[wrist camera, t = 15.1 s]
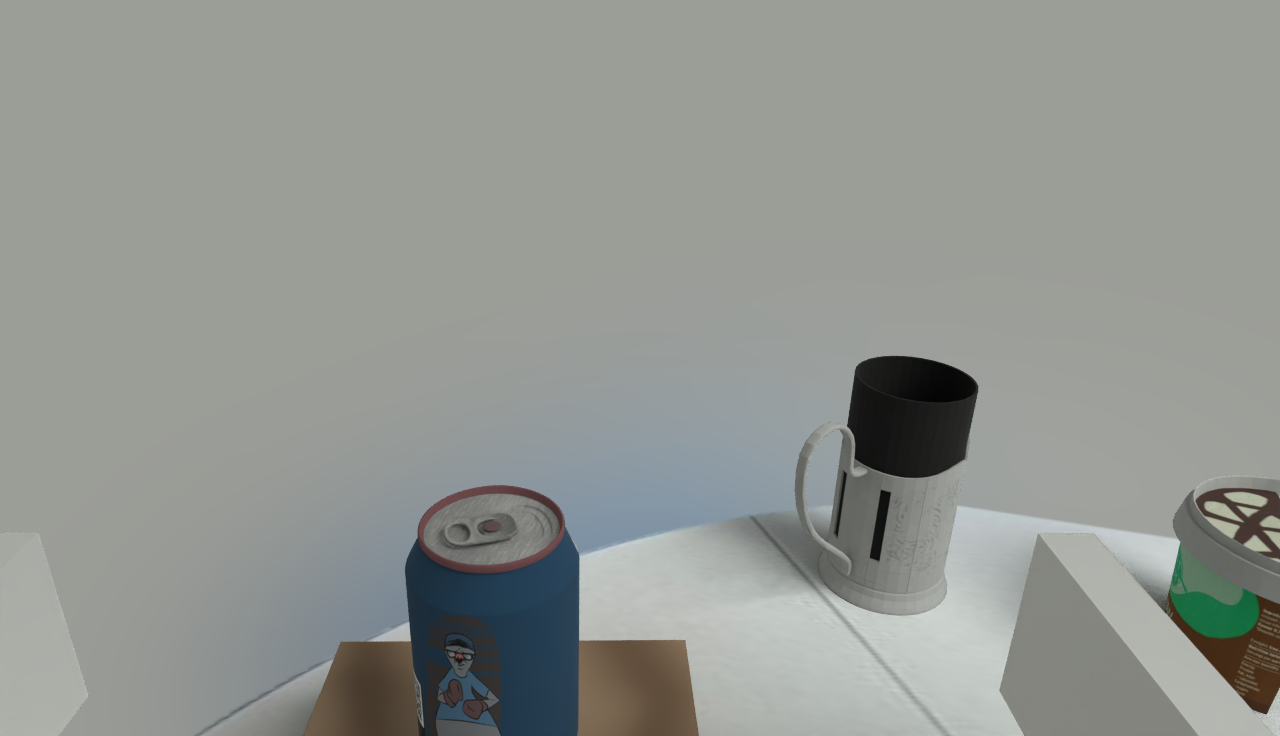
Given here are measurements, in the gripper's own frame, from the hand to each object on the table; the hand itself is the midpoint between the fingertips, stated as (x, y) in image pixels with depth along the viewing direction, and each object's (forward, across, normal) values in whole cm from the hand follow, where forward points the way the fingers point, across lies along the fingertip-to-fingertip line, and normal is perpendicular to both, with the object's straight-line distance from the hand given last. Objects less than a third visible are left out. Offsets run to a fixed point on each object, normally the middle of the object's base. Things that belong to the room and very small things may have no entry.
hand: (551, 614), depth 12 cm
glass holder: (+38, +18, -29) cm, 51 cm away
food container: (+32, +38, -29) cm, 57 cm away
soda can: (+19, -4, -24) cm, 31 cm away
